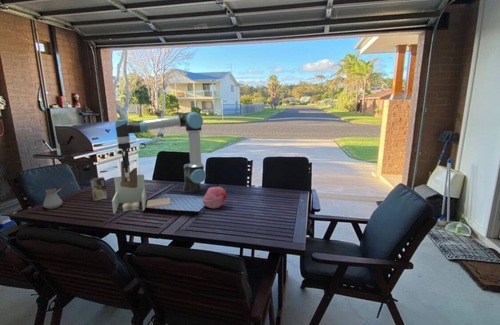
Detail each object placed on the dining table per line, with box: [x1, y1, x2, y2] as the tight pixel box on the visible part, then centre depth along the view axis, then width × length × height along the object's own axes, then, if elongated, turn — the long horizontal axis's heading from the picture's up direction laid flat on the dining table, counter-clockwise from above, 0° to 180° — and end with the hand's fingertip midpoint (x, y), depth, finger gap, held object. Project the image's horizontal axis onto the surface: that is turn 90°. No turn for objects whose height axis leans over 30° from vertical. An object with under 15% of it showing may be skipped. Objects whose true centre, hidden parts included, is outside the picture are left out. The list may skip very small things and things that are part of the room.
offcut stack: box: [122, 201, 141, 212], centre depth 188 cm, size 11×8×4 cm
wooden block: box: [120, 160, 138, 188], centre depth 188 cm, size 4×11×18 cm, turn 81°
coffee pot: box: [42, 181, 73, 210], centre depth 196 cm, size 21×12×15 cm, turn 159°
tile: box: [146, 197, 172, 208], centre depth 198 cm, size 16×14×1 cm
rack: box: [111, 173, 147, 215], centre depth 191 cm, size 20×22×20 cm
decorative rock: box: [202, 186, 228, 210], centre depth 187 cm, size 19×14×15 cm
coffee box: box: [90, 176, 108, 202], centre depth 209 cm, size 9×6×16 cm
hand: (127, 175), depth 188 cm, fingers open, 5 cm apart
